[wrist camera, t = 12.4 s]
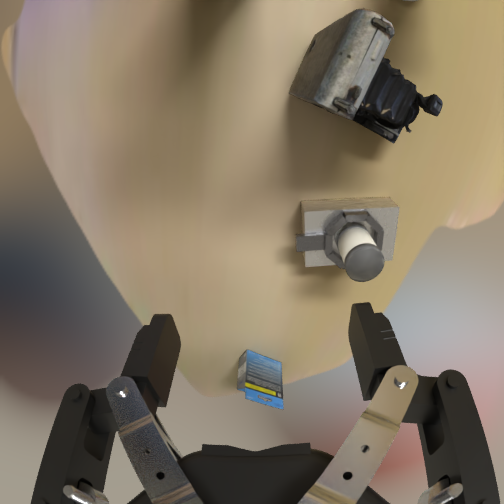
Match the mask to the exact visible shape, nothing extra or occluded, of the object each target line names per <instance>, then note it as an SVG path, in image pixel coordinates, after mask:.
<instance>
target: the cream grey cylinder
mask: <svg viewBox="0 0 504 504" xmlns="http://www.w3.org/2000/svg"><path fill="white" fill-rule="evenodd" d="M336 244H337V248H338V250H339V252H340V255H341V257H342V260H343V262H344V266H345V269H346V272H347V274H348V276H349V277H350V278H351V279H352V280H354V281H358V282H365V281H369V280H371V279H373V278H375V277H376V276H377V275H378V274H379V273H380V272H381V271H382V269H383V267H384V262H385V261H384V256H383V254H382V252H381V251H380V249H379V248H378V247H377V245H376V244H375V242H374V240H373V239H372V237H371V235H370V233H369V232H368V230H367V229H366V228H365V227H364V226H363V225H362V224H360V223H349V224H346V225H344V226H343V227H342V228H341V229H340V230H339V231H338V233H337V235H336Z"/></svg>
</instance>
